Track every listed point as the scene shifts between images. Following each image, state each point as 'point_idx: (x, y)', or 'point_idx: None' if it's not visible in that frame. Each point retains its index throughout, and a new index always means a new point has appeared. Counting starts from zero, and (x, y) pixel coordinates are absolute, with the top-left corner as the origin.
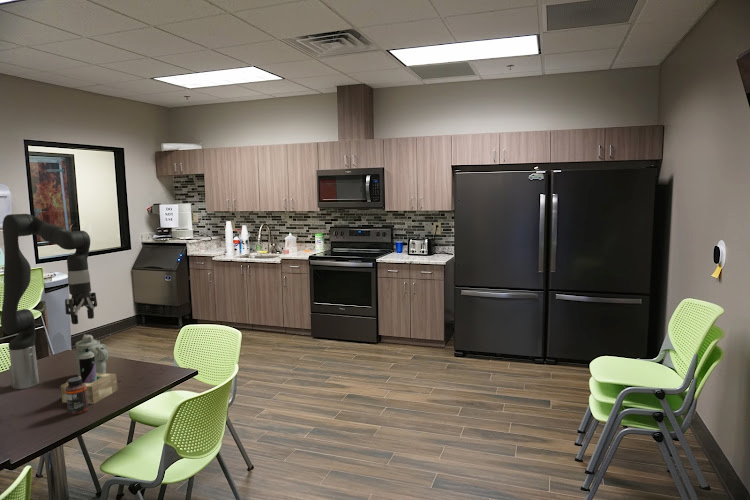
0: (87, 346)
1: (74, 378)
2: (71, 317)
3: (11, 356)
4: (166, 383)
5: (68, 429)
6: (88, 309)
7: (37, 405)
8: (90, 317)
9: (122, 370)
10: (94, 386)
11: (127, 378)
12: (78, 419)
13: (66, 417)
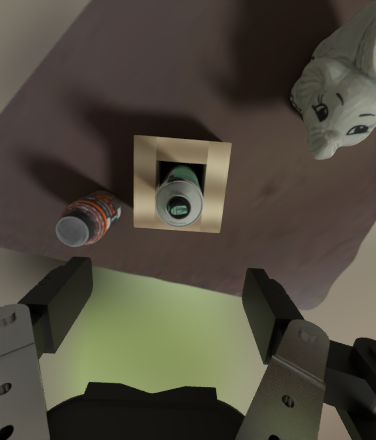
0: (369, 69)
1: (75, 228)
2: (24, 301)
3: None
4: None
5: (36, 238)
6: (278, 332)
7: (121, 80)
8: (247, 290)
9: (348, 153)
10: (142, 226)
11: (285, 200)
12: None
13: None
